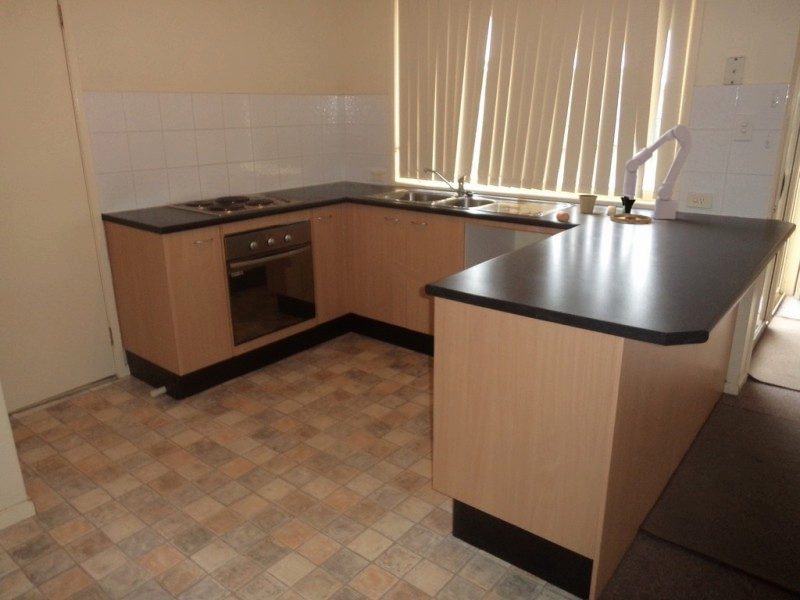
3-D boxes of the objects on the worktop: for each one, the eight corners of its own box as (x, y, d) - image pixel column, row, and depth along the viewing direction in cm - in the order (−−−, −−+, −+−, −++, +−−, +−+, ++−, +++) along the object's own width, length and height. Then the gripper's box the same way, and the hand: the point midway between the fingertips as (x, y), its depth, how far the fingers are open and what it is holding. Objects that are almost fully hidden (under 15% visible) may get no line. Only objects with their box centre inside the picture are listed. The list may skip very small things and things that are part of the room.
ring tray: (645, 218, 292) (645, 213, 292) (654, 224, 275) (655, 219, 275) (606, 216, 295) (607, 212, 294) (614, 223, 278) (614, 218, 277)
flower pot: (573, 211, 310) (574, 194, 307) (588, 210, 313) (590, 194, 310) (583, 214, 301) (585, 197, 299) (599, 213, 304) (601, 196, 302)
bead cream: (614, 215, 301) (615, 206, 299) (616, 216, 297) (617, 207, 296) (606, 214, 301) (607, 205, 300) (607, 216, 297) (608, 207, 296)
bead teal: (629, 214, 300) (630, 205, 298) (631, 216, 296) (632, 206, 295) (621, 214, 300) (622, 205, 299) (622, 215, 296) (623, 206, 295)
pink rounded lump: (569, 212, 279) (562, 211, 283) (562, 214, 278) (556, 213, 282) (569, 220, 281) (563, 219, 285) (562, 222, 279) (556, 221, 283)
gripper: (618, 182, 301) (615, 209, 305) (624, 186, 287) (621, 214, 291) (632, 183, 300) (629, 210, 304) (639, 186, 286) (636, 214, 290)
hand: (626, 212), depth 298 cm, fingers closed on bead teal, 4 cm apart
